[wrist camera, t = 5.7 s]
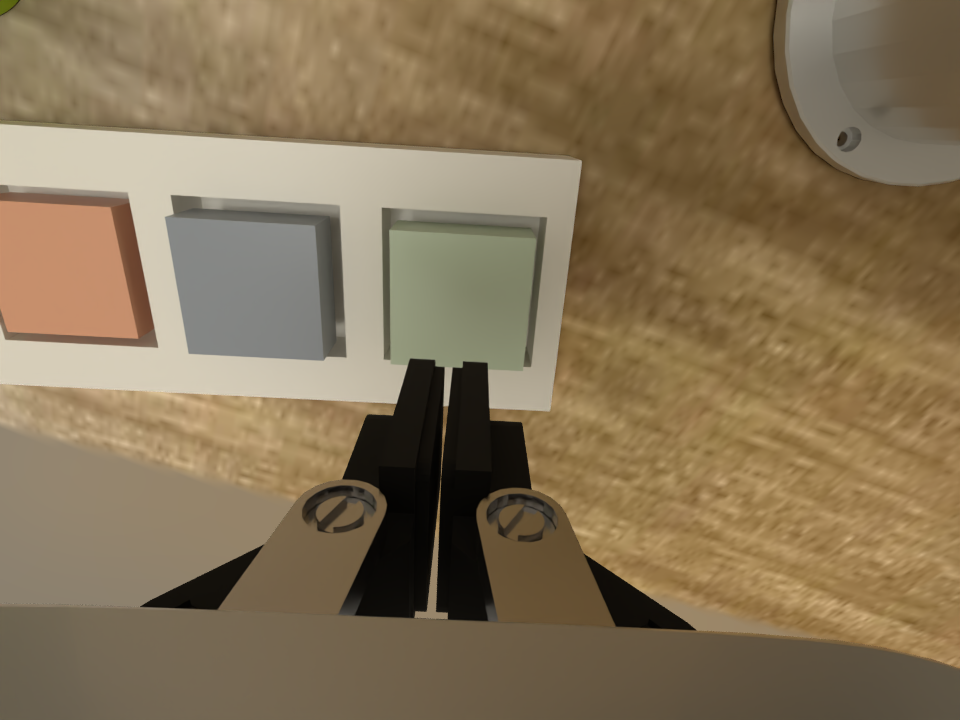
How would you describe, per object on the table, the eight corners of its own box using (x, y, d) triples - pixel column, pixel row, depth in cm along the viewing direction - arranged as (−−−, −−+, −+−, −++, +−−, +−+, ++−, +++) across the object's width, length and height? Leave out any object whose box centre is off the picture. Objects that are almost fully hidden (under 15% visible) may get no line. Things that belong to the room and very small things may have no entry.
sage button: (530, 228, 20) (536, 238, 18) (519, 350, 22) (523, 371, 20) (397, 220, 20) (389, 229, 18) (397, 344, 22) (390, 364, 20)
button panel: (568, 155, 22) (582, 160, 19) (542, 380, 26) (550, 411, 23) (-21, 118, 21) (-96, 118, 18) (48, 354, 25) (-6, 383, 22)
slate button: (330, 216, 20) (315, 225, 18) (336, 340, 22) (323, 360, 20) (193, 208, 20) (164, 216, 18) (212, 334, 22) (188, 353, 20)
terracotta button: (142, 199, 21) (110, 207, 19) (165, 321, 23) (138, 338, 21) (10, 191, 21) (-35, 198, 19) (45, 315, 23) (7, 331, 21)
